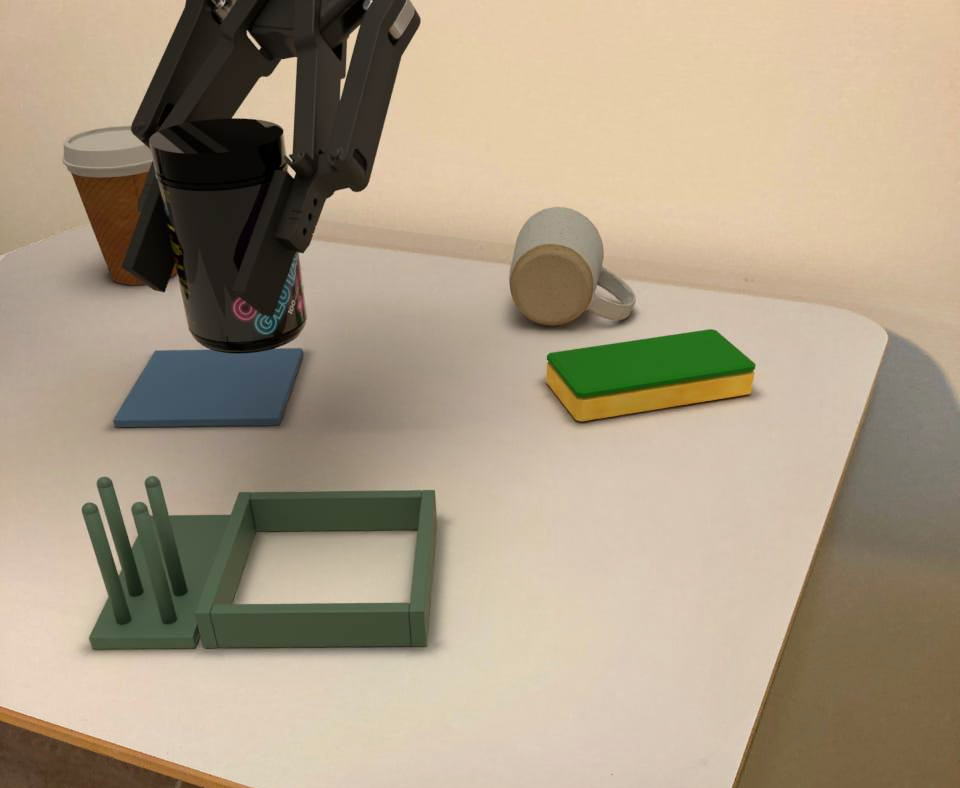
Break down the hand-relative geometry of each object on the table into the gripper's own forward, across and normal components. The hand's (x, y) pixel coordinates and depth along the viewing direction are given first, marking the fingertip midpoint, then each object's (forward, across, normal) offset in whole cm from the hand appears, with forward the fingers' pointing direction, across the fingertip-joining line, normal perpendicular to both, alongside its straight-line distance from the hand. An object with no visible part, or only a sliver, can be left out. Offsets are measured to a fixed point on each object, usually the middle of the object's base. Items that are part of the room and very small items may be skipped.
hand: (196, 291), depth 54 cm
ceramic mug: (-18, -3, -39) cm, 43 cm away
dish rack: (+13, -5, -8) cm, 16 cm away
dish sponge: (-10, -15, -32) cm, 36 cm away
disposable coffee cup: (-11, +37, -33) cm, 51 cm away
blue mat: (+1, +15, -21) cm, 26 cm away
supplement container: (0, 0, -5) cm, 5 cm away
